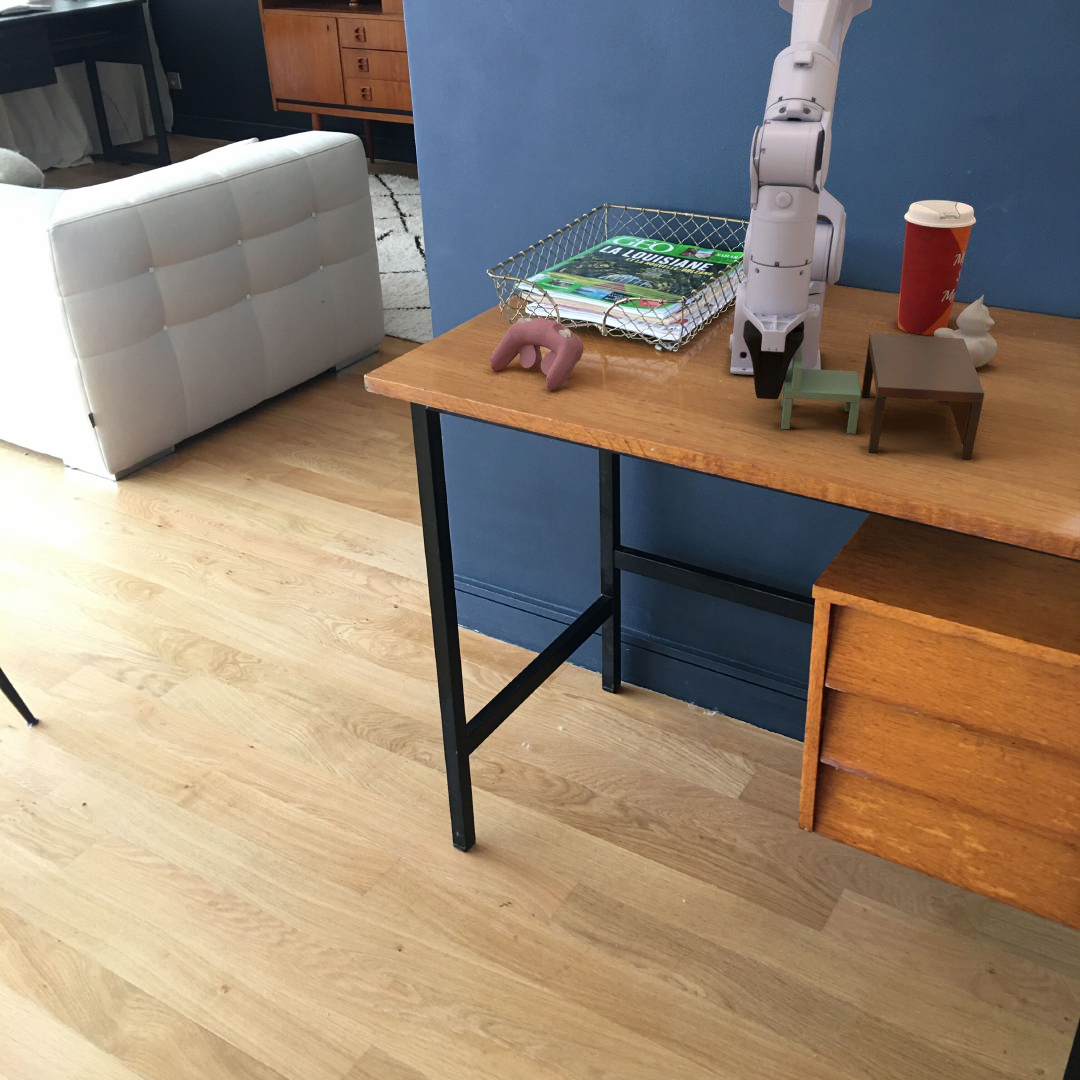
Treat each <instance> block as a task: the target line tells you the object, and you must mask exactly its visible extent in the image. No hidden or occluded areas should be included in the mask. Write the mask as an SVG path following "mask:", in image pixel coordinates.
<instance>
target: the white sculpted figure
mask: <svg viewBox="0 0 1080 1080" xmlns="http://www.w3.org/2000/svg"><path fill="white" fill-rule="evenodd" d="M984 296H985V294H984V293H983V294H982V295H981V296H980V298H978V299H976V300H975V301H973V302H972V303H971V304H969V305H967V307H965V308H964V309H963V310H962V311H961V312H960V314H959V315H958V317H957V319H956V325H957V327H958V329H955V330H954V329H952V328H949V327H947V328H939V329H937V330H936V331H935V332H934V335H933V337H941V338H961V339H964V340H965V343H966V346H967V348H968V351H969V354H970V356H971V359H972V362H973V364H974V367H975V369H976V368H980V367H982V366H984V365H986V364H988V363H989V362H990V361H991V360H993V358H994V357H995V356H996V354H997V351H998V343H997V341H996V340H995V338H993V336H992V335H991V333H989V331H990V330H991V328H992V326H993V325H995V320H994V319H993V318H992V317H991V316H990V312H989V308H988V307H987V306H986V305H985V304H983V303H984V298H985V297H984Z"/></svg>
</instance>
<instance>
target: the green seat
mask: <svg viewBox="0 0 1080 1080" xmlns="http://www.w3.org/2000/svg"><path fill="white" fill-rule="evenodd" d="M861 391H862V389H861V384H860V376H859V371H855V370H854V371H851V370H836V369H821V370H819V369H803V355H802V345H800V347H799V348H798V350H797V351H796V353H795V354H794V356H793V358H792V368H788V370H787V373H786V377H785V380H784V384H783V387H782V395H781V396H782V398H781V408H782V414H781V423H780V429H781V430H790V428H791V421H792V420H791V419H792V410H793V402H794V399H795V400H811V401H827V402H828V401H829V402H843V403H844V412H846V413H848V420H847V427H846V431H847V434H853V435H855V434H856V435H857V429H858V422H859V414H860V407H861V401H862V396H861Z"/></svg>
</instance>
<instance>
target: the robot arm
mask: <svg viewBox="0 0 1080 1080" xmlns="http://www.w3.org/2000/svg"><path fill="white" fill-rule="evenodd" d="M872 4H873V0H778V5H779V6H778V7H779V8H780V9H782V10H784V11H786V12H787V13H789V14H791V16H792V20H791V31H790V32H791V33H790V46H787V47H786V48H784V49H783V50H782V51H780V52H779V53H778V54H777V56H776V58H775V59H774V62H773V67H772V73H771V78H770V81H769V82H770V83H769V88H768V94H767V98H766V99H767V100H766V104H765V111H764V117H763V121H762V126H760V125H756V127H755V130H754V132H753V137H752V141H751V148H750V158H749V178H750V217H749V222H748V225H747V228H746V233H745V238H744V246H743V256H742V272H743V274H744V275H745V276H746V278H747V279H746V282H738V283H737V287H736V295H735V304H734V305H735V306H734V318H733V330H732V331H733V333H730V336H729V346H728V347H729V349H728V350H729V351H730V352H731V356H730V357H731V358H730V368H729V369H730V371H729V372H730V374H733V375H745V376H746V375H747V376H748V375H749V376H753V385H754V392H755V396H756V398H757V399H759V400H773V401H774V400H775V401H776V400H778V399H779V397H780V395H781V392H782V391H783V385H784V380H785V377H786V373H787V370H788V368H792V358H793V356H794V354H795V353H796V351H797V350H798V348H799V347H800V345H802V355H803V369H819V370H822V367H821V365H822V362H821V351H820V349H819V346H820V338H821V330H822V320H823V312H824V305H825V303H824V302H825V295H826V290H827V286H834V285H835V283H837V282H838V281H839V280H840V275H841V271H842V270H841V269H842V263H843V255H844V249H845V240H846V224H847V223H846V222H847V213H846V211H845V207H844V205H843V204H842V203H841V202H840V201H839V200H838V199H837V198H835V196H833V195H832V194H831V193H830V192H828V191H827V189H825V188H824V186H825V183H826V181H827V178H828V172H829V167H830V166H829V165H830V158H831V151H832V139H833V138H832V135H833V134H832V125H833V119H834V108H835V104H836V103H835V101H836V95H837V88H838V79H839V73H840V64H841V59H842V58H841V57H842V51H843V50H842V49H843V45H844V41H845V38H846V35H847V33H848V30H849V28H850V25H851V23H852V20H853V18H854V17H856V16H859V14H861V13H863V12H865V11H867V10H869V9H870V8H871V7H872ZM818 221H819V222H818Z"/></svg>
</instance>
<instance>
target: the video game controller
mask: <svg viewBox="0 0 1080 1080" xmlns="http://www.w3.org/2000/svg"><path fill="white" fill-rule="evenodd" d="M541 347H543V348H545V349H548V350H549V352H548V353H547V354H545V355H544V357H543V355H542V351H541ZM583 353H584V341H583V340H582V339H581V337H580V336H579V335H577V334H575V333H574V332H573V331H572V330H571V329H570V328H568V326H566V325H564V324H563V323H561V322H558V321H556V320H553V319H548V318H544V317H534V318H533V317H527V318H523V317H519V318H518V319H517V321H516V322H513V323H512V324H511V325H510V326H509V328H508V329H507V330H506V332H505V334H504V335H503V337H502V339H500V341H499V343H497V345H496V347H495V348H494V349H493V351H492V353H491V355H490V358H489V366H490V369H491V370H492V371H494V372H498V371H501V370H503V369H505V368H506V367H507V366H508V365H509V364H510V363H512V361H513V360H514V359H515V358H516V357H517V356H519V363H520V365H521V366H522V367H523V368H524V369H528V370H537V369H538V368H539V367H540V370H541V372H542V373H543V374H544V375H546V376H545V377H546V378H545V386H546V388H547V389H548V390H550V391H554V390H557V389H559V388H560V387H561V386H563V384H565V382H566V381H568V379H569V377H570V375H571V374H572V373H573V370H574V368H575V366H576V364H577V363H578V362H579V361H580V360H581V358H582V356H583Z"/></svg>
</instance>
